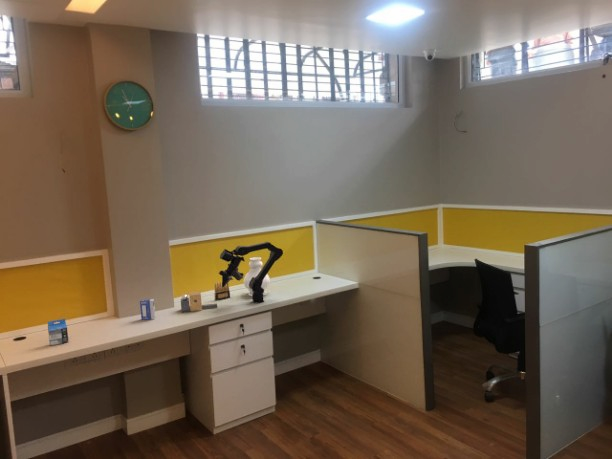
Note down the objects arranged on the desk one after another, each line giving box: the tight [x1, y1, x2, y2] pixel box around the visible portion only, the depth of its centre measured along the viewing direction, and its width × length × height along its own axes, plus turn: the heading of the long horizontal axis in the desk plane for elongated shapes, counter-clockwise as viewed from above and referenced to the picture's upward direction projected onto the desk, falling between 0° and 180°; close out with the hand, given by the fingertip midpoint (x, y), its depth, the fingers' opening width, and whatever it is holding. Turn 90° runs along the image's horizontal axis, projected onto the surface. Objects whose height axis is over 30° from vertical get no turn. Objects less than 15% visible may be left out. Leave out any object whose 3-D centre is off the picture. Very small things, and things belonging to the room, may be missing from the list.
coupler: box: [180, 294, 218, 313], centre depth 335 cm, size 22×7×10 cm, turn 103°
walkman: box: [139, 298, 157, 321], centre depth 319 cm, size 8×3×12 cm, turn 91°
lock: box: [188, 291, 203, 312], centre depth 334 cm, size 7×8×10 cm
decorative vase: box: [243, 256, 271, 297], centre depth 364 cm, size 18×18×25 cm
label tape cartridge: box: [47, 318, 69, 347], centre depth 282 cm, size 9×4×12 cm, turn 121°
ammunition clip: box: [214, 281, 231, 302], centre depth 357 cm, size 11×2×12 cm, turn 125°
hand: (222, 286), depth 337 cm, fingers closed
